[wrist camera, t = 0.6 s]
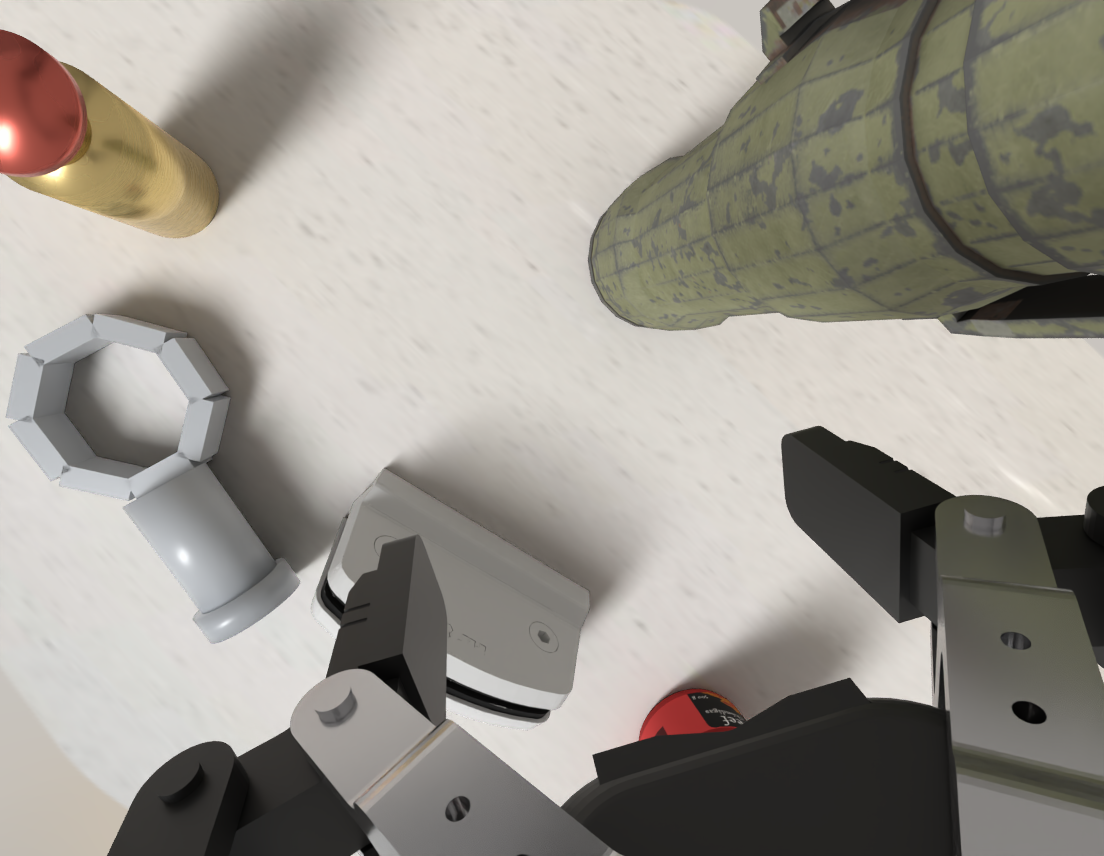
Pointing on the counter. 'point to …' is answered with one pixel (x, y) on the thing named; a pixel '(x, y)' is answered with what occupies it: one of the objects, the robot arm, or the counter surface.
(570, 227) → the counter surface
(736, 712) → the canned food
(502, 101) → the counter surface
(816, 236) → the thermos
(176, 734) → the counter surface
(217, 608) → the grey octagonal holder
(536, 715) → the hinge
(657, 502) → the counter surface
